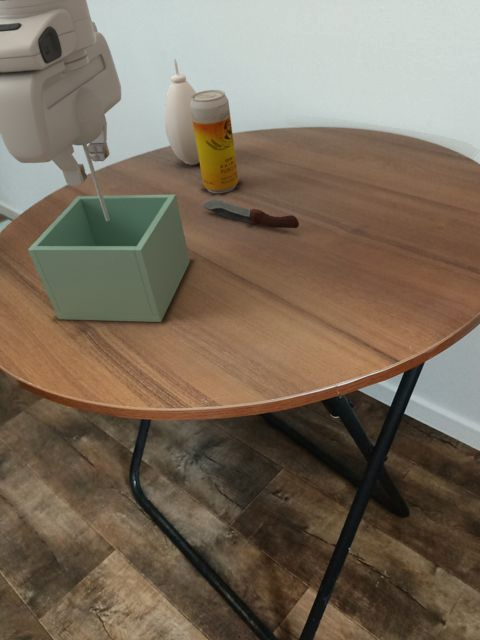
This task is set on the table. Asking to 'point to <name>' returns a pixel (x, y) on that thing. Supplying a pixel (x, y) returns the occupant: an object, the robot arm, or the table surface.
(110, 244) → the tub
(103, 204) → the lollipop
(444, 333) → the table surface
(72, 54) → the robot arm
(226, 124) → the beer can
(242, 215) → the knife
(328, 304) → the table surface
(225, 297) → the table surface
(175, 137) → the sauce bottle
